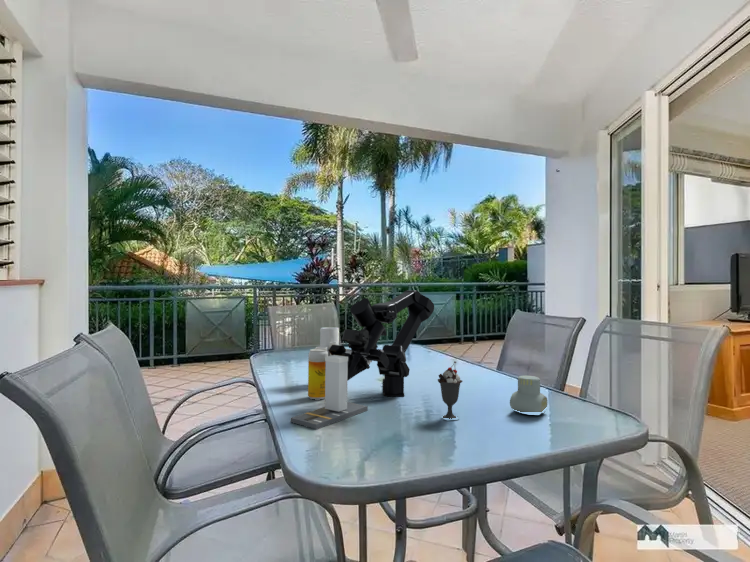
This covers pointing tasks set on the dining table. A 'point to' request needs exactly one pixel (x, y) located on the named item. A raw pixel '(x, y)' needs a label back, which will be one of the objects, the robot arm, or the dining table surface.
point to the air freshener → (528, 395)
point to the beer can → (316, 373)
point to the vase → (328, 338)
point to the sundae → (449, 389)
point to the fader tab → (336, 382)
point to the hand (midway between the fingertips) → (345, 379)
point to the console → (327, 416)
